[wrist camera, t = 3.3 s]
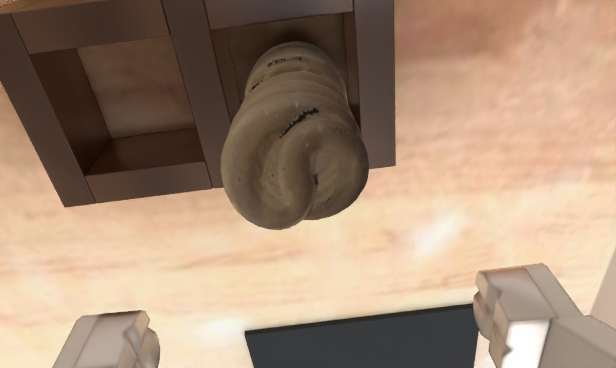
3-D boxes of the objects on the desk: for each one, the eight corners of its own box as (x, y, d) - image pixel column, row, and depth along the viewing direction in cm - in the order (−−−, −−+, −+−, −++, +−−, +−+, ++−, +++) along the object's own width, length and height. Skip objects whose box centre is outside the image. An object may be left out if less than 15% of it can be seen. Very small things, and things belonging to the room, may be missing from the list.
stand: (93, 167, 31) (64, 208, 27) (20, -1, 25) (-32, 18, 21) (379, 130, 31) (395, 166, 27) (374, -49, 25) (393, -39, 21)
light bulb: (255, 109, 30) (236, 261, 17) (236, 25, 27) (195, 133, 14) (338, 95, 29) (382, 239, 17) (328, 9, 26) (372, 105, 14)
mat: (266, 404, 48) (265, 409, 47) (244, 331, 41) (244, 335, 41) (469, 380, 47) (471, 384, 47) (480, 302, 41) (482, 306, 40)
